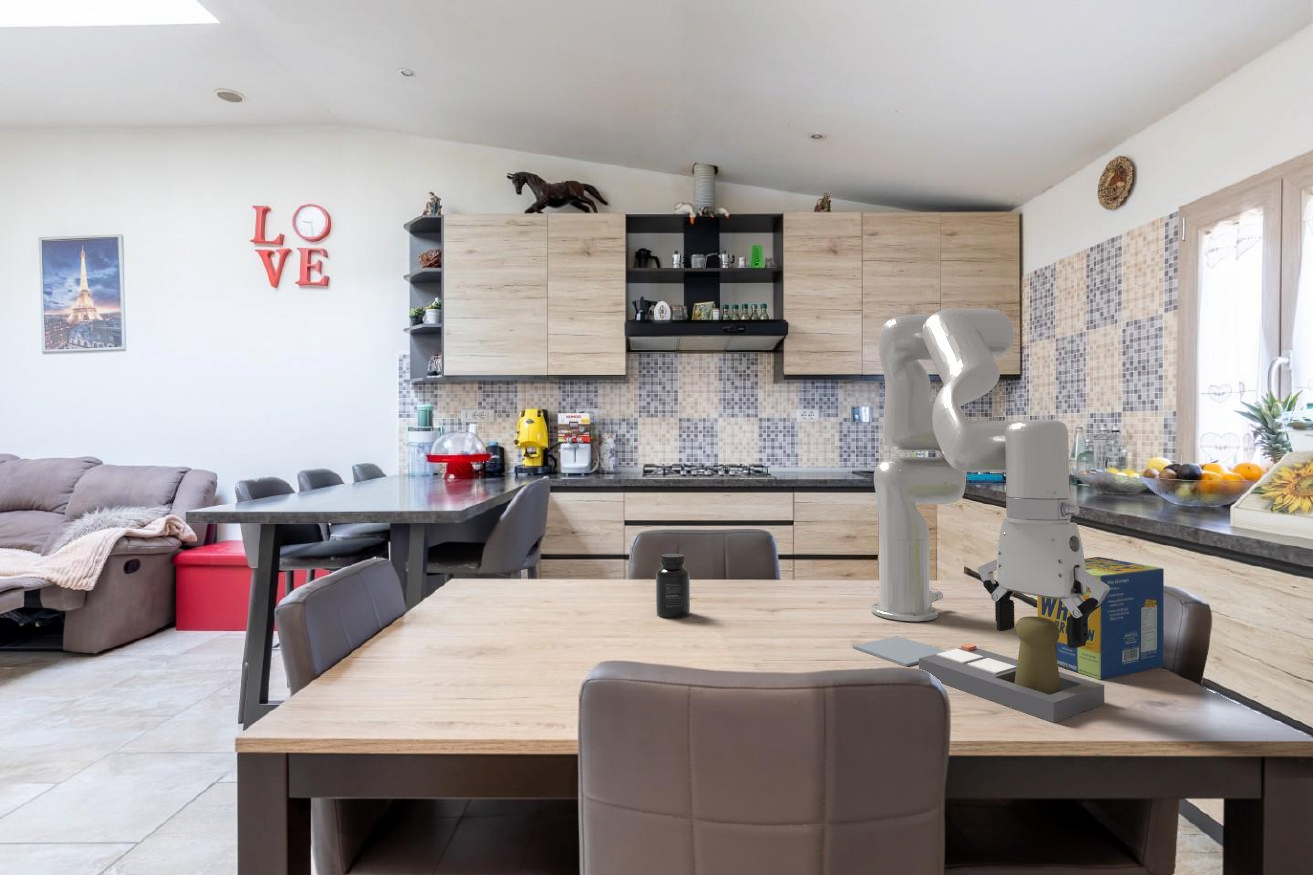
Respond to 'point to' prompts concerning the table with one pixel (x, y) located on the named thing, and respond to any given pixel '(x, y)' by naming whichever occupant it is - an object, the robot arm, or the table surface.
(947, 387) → the robot arm
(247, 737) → the table surface
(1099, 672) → the protein box
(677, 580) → the supplement bottle
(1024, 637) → the cork
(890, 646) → the slate mat
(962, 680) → the grey compartment tray
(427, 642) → the table surface
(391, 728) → the table surface
